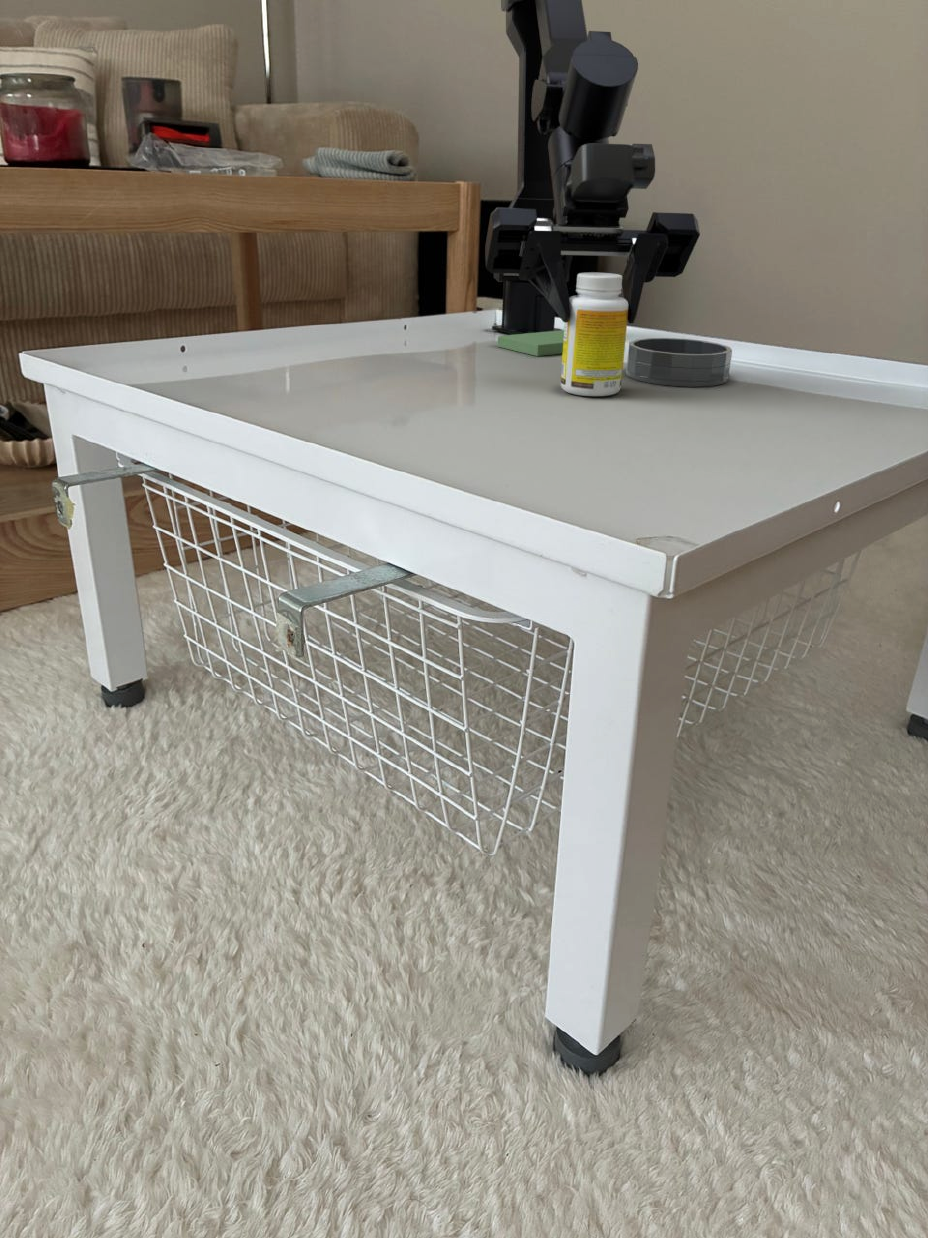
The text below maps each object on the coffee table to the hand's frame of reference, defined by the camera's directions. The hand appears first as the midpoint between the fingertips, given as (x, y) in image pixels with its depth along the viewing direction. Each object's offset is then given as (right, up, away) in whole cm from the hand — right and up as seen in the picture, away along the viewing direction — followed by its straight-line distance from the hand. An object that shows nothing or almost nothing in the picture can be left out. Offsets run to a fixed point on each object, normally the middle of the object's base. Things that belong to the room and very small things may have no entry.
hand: (599, 319), depth 83 cm
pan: (+9, -2, +12) cm, 15 cm away
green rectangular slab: (-2, +5, +26) cm, 26 cm away
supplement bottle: (0, -6, +4) cm, 7 cm away
